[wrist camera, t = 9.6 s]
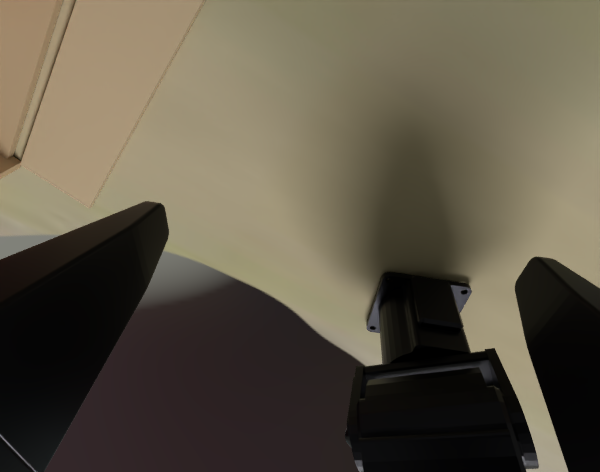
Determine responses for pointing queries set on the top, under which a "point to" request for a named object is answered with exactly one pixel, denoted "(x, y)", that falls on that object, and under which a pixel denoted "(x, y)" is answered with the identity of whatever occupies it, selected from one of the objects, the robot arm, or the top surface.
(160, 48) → the box
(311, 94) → the top surface
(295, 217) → the top surface
